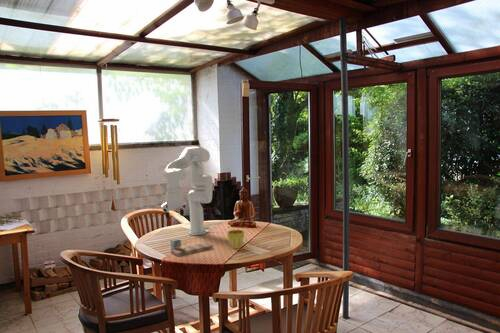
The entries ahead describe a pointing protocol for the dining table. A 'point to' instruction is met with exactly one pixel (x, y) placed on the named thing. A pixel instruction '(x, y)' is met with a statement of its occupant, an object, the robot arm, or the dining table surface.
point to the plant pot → (236, 238)
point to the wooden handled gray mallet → (177, 244)
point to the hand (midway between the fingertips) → (174, 217)
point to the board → (192, 249)
